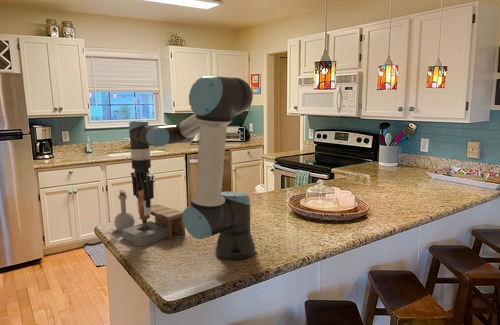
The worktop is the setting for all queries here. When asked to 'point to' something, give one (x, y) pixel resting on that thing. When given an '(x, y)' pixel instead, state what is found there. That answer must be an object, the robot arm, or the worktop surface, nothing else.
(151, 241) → the socket block
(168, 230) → the wooden bench
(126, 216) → the potion bottle
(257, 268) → the worktop surface
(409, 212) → the worktop surface
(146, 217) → the peg
